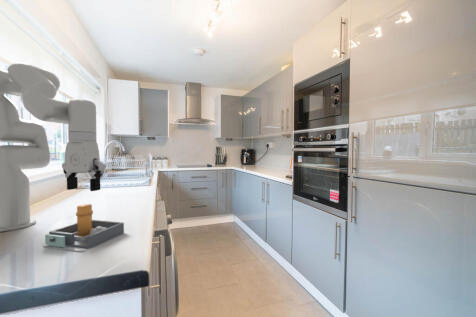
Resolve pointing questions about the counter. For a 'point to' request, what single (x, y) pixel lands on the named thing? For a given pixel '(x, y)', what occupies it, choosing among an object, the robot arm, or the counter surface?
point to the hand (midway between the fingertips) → (83, 189)
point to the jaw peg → (84, 219)
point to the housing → (97, 235)
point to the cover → (55, 240)
